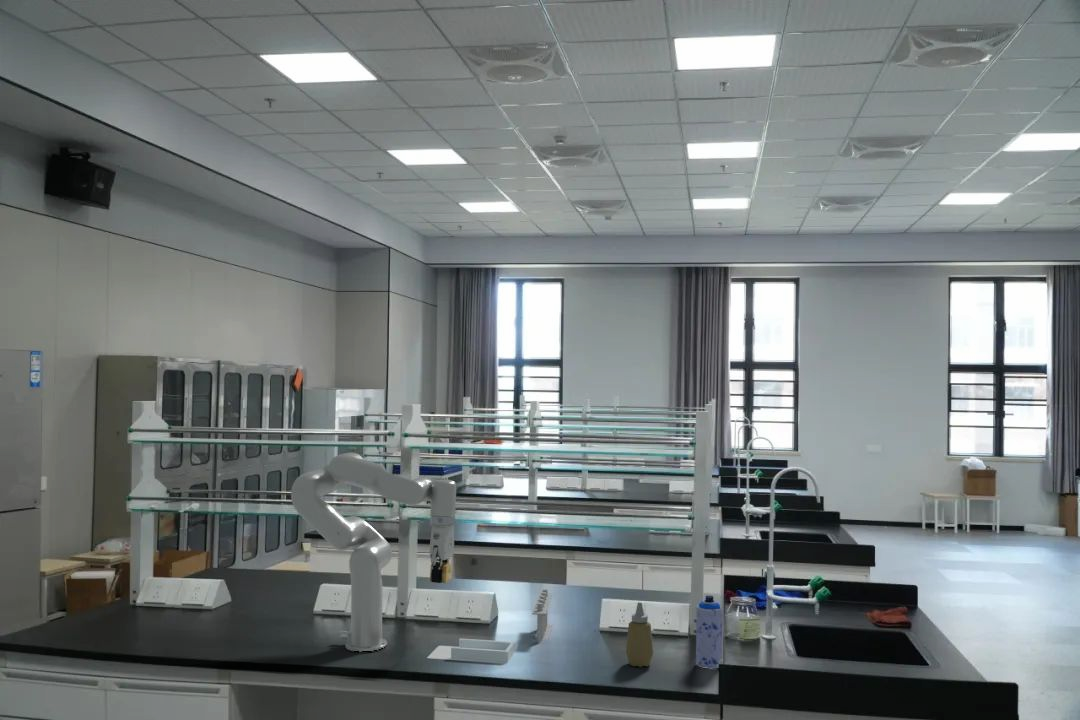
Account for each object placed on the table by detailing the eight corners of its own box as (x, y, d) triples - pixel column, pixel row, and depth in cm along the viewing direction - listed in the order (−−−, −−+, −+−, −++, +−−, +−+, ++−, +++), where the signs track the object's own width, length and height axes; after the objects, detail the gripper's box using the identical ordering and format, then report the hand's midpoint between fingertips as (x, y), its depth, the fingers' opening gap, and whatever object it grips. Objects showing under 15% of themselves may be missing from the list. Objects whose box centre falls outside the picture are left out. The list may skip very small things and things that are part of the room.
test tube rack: (539, 626, 295) (539, 586, 295) (552, 626, 294) (552, 587, 295) (531, 649, 270) (531, 606, 270) (545, 649, 270) (546, 606, 270)
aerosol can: (719, 660, 260) (719, 593, 261) (725, 669, 253) (726, 599, 253) (692, 660, 260) (693, 592, 260) (698, 669, 252) (699, 599, 253)
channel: (426, 663, 256) (426, 647, 256) (438, 650, 267) (439, 635, 268) (506, 669, 251) (506, 653, 251) (515, 655, 263) (515, 640, 263)
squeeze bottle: (651, 660, 260) (651, 599, 261) (655, 669, 252) (655, 606, 252) (623, 660, 260) (624, 599, 260) (627, 669, 252) (627, 606, 252)
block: (429, 581, 265) (430, 565, 265) (434, 577, 270) (435, 561, 270) (445, 583, 264) (446, 566, 264) (450, 579, 269) (451, 562, 269)
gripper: (445, 526, 258) (442, 588, 258) (462, 517, 275) (460, 575, 274) (420, 524, 260) (418, 585, 259) (440, 515, 276) (437, 573, 276)
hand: (439, 579), depth 267 cm, fingers closed on block, 5 cm apart
